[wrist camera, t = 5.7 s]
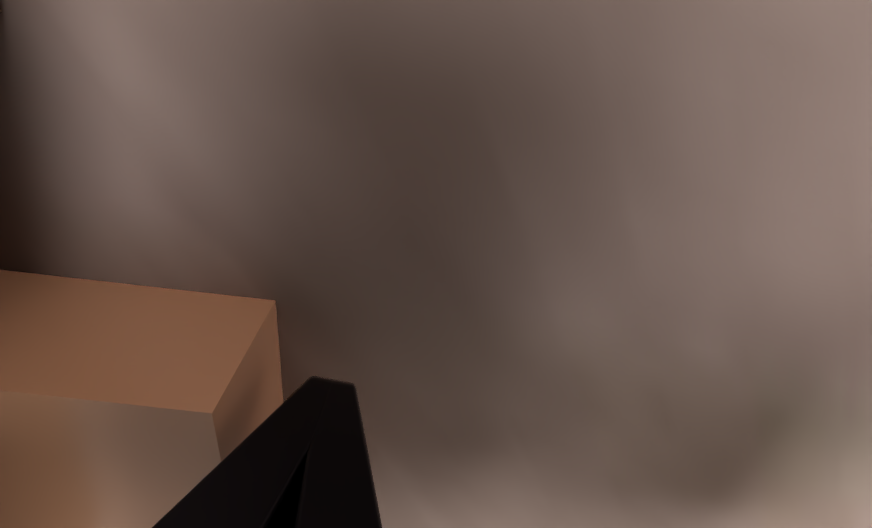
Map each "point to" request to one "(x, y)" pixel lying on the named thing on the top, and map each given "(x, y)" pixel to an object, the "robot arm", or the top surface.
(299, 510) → the robot arm
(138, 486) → the peach cardboard box
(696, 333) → the top surface
